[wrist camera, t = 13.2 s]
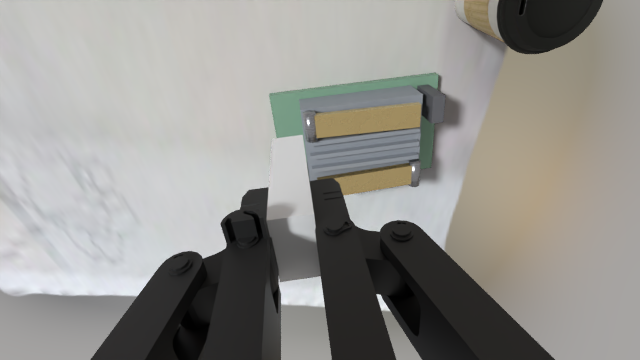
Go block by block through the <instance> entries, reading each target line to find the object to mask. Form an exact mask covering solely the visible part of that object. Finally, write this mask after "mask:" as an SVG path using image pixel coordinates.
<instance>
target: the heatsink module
mask: <svg viewBox="0 0 640 360" xmlns="http://www.w3.org/2000/svg"><path fill="white" fill-rule="evenodd" d="M437 88H438V74H437V73H429V74H421V75H413V76H405V77H397V78H389V79H381V80H373V81H365V82H357V83H350V84H342V85H334V86H326V87H318V88H310V89H302V90H294V91H286V92H278V93H270V95H269V97H270V102H271V108H272V114H273V119H274V125H275V130H276V136H277V138H282V137H289V136H297V135H303V141H304V148H305V155H306V162H307V169H308V176H309V181H313V180H317V177H323V176H330V175H336V174H342V173H348V172H354V171H361V170H367V169H373V168H379V167H385V166H391V165H398V164H404V163H409V160H412V159H419V160H421V165H420V169H425V168H431V162H432V150H433V137H434V125H435V123H440V122H443V118H444V108H445V97H446V95H444V94H443V93H441V92H439V91H438V90H437ZM415 102H419V103H420V104H421V119H420V127H416V128H407V129H398V130H389V131H379V132H370V133H361V134H351V135H342V136H333V137H324V138H318V141H316V142H312V143H309V142H307V141H306V135H305V127H304V119H303V112H304V111H307V110H314V111H315V113H323V112H332V111H341V110H351V109H360V108H369V107H378V106H387V105H397V104H406V103H415Z"/></svg>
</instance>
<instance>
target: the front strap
mask: <svg viewBox="0 0 640 360" xmlns="http://www.w3.org/2000/svg"><path fill="white" fill-rule="evenodd" d="M303 119H304V127H305V135H306V141H307V142H309V143H312V142H316V141H318V138H324V137H333V136H342V135H351V134H361V133H370V132H379V131H389V130H398V129H407V128H416V127H420V119H421V104H420V103H419V102H415V103H406V104H397V105H387V106H378V107H369V108H360V109H351V110H341V111H332V112H323V113H315V111H314V110H307V111H304V112H303Z"/></svg>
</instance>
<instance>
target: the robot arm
mask: <svg viewBox="0 0 640 360" xmlns="http://www.w3.org/2000/svg"><path fill="white" fill-rule="evenodd" d="M221 227H222V230H223V233H224V236H225V240H226V243H227V246H226V249H224V250H223V251H221V252H219V253H217V254H215V255H212V256H209V257H206V258H204V259H202V256H201V255H200V254H198V253H197V252H192V251H188V252H181V253H179V254H176V255H173V256H172V257H170V258H169V259H167V260H166V261H165V262H164V263H163V264H162V265H161V266H160V267H159V268H158V270H157V271H156V272H155V274H154V275H153V276H152V278H151V279H150V280H149V282H148V283H147V284H146V286H145V287H144V288H143V290H142V291H141V292H140V294H139V295H138V297H137V298H136V299H135V301H134V302H133V303H132V305H131V306H130V307H129V309H128V310H127V311H126V313H125V314H124V315H123V317H122V318H121V319H120V321H119V322H118V324H117V325H116V326H115V327H114V329H113V330H112V332H111V333H110V334H109V336H108V337H107V338H106V340H105V341H104V342H103V344H102V345H101V346H100V348H99V349H98V350H97V352H96V353H95V354H94V356H93V357H92V358H91V360H281V293H280V289H279V284H278V276H279V279H280V282H284V281H290V280H297V279H304V278H311V277H318V276H321V280H322V288H323V295H324V303H325V310H326V318H327V325H328V332H329V340H330V348H331V355H332V360H396V358H395V354H394V351H393V348H392V344H391V341H390V338H389V334H388V331H387V328H386V325H385V321H384V318H383V315H382V312H381V308H380V305H379V302H378V299H377V295H376V294H381V296H382V299H383V300H384V302H385V303H386V305H387V306H388V308H389V309H390V311H391V312H392V314H393V315H394V317H395V319H396V320H397V322H398V323H399V325H400V326H401V328H402V329H403V331H404V332H405V334H406V335H407V337H408V339H409V340H410V342H411V343H412V345H413V346H414V348H415V349H416V351H417V352H418V354H419V355H420V357H421V359H422V360H555V359H554V358H553V357H551V355H549V353H548V352H547V351H546V350H544V349H543V348H542V347H541V346H540V345H539V344H538V343H537V342H536V341H535V340H534V339H533V338H532V337H531V336H530V335H529V334H528V333H527V332H526V331H525V330H524V329H523V328H522V327H521V326H520V325H519V324H518V323H517V322H516V321H515V320H514V319H513V318H512V317H511V316H510V315H509V314H508V313H507V312H506V311H505V310H504V309H503V308H502V307H501V306H500V305H499V304H498V303H496V301H495V300H494V299H492V298H491V297H490V296H489V295H488V294H487V293H486V292H485V291H484V290H483V289H482V288H481V287H480V286H479V285H478V284H477V283H476V282H475V281H474V280H473V279H472V278H471V277H470V276H469V275H468V274H467V273H466V272H465V271H464V270H463V269H462V268H461V267H460V266H459V265H458V264H457V263H456V262H455V261H454V260H452V258H451V257H450V256H449V255H448V254H447V253H446V252H445V251H444V250H442V249H441V248H440V247H439V246H438V245H437V244H436V243H435V242H434V241H433V240H432V239H431V238H430V237H429V236H428V235H427V234H426V233H425V232H424V231H423V230H422V229H421V228H420V227H419V226H417V225H416V224H414V223H411V222H408V221H400V220H397V221H392V222H389V223H387V224H385V225H384V226H383V227H382V228H381V230H380V232H377V231H368V230H363V229H361V228H358V227H357V226H355V225H354V223H353V222H352V221H351V220H350V217H349V214H348V210H347V207H346V204H345V200H344V197H343V193H342V190H341V187H340V183H338V182H337V181H336V180H335V179H334V178H328V179H320V180H313V181H309V176H308V169H307V162H306V155H305V148H304V141H303V135H297V136H289V137H282V138H274V139H272V144H271V159H270V174H269V187H268V188H261V189H253V190H248V192H247V193H246V194H245V195H244V196H243V197H242V202H241V208H240V210H236V211H234V212H232V213H230V214H228V215H227V216H226V217H225V218H224V219H223V220H222V222H221Z"/></svg>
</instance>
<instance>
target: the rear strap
mask: <svg viewBox="0 0 640 360" xmlns="http://www.w3.org/2000/svg"><path fill="white" fill-rule="evenodd" d="M420 165H421V160H419V159H412V160H409V163H404V164H398V165H391V166H385V167H379V168H373V169H367V170H361V171H354V172H348V173H342V174H336V175H330V176H323V177H317V180H320V179H328V178H334V179H335V180H336V181H337V182H338V183H340V187H341V190H342V193H343V195H349V194H354V193H360V192H366V191H372V190H378V189H384V188H390V187H396V186H402V185H409V186H411V187H417V186H419V181H420Z"/></svg>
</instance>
